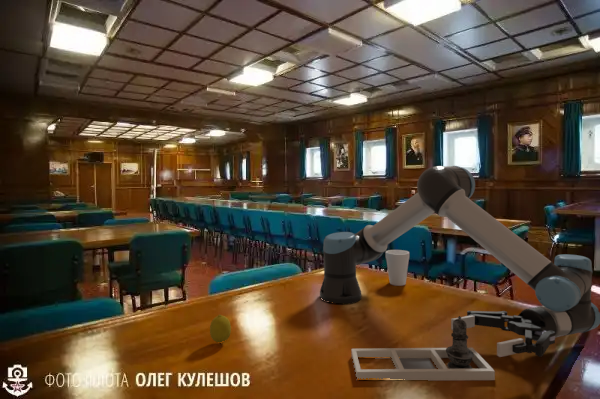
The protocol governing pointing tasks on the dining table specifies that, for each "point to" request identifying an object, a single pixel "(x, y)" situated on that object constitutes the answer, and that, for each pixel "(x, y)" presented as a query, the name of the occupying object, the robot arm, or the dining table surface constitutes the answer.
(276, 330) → the dining table surface
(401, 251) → the foam cup
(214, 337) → the lemon
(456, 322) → the dark chess piece
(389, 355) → the pocket rack
